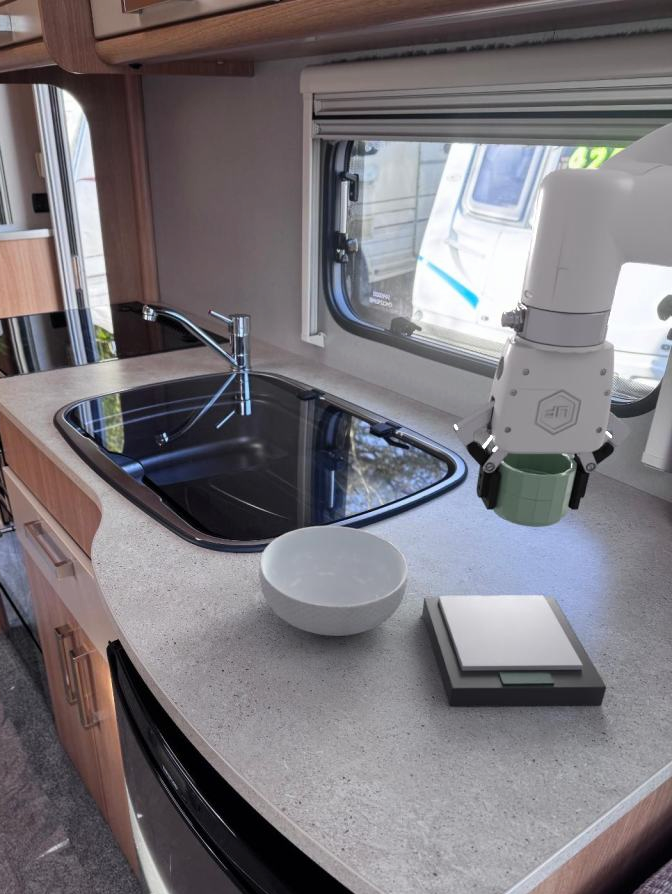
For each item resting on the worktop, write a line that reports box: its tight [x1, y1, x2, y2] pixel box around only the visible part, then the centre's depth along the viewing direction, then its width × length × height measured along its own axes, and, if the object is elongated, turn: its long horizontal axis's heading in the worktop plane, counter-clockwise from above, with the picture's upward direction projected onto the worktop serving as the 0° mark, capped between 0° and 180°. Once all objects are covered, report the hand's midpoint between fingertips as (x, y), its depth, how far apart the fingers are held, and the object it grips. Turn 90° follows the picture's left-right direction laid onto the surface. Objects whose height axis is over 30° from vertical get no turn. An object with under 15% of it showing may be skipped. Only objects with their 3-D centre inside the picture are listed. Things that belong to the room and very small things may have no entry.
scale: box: [422, 594, 607, 708], centre depth 77 cm, size 15×15×3 cm
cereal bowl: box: [258, 525, 409, 637], centre depth 82 cm, size 17×17×7 cm
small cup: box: [492, 453, 577, 528], centre depth 71 cm, size 7×7×6 cm
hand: (528, 502), depth 72 cm, fingers closed on small cup, 7 cm apart
